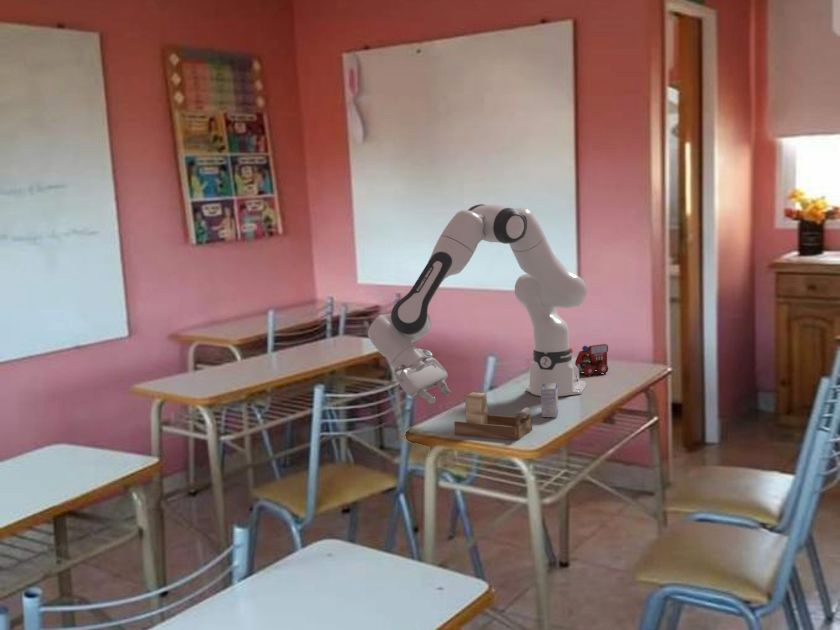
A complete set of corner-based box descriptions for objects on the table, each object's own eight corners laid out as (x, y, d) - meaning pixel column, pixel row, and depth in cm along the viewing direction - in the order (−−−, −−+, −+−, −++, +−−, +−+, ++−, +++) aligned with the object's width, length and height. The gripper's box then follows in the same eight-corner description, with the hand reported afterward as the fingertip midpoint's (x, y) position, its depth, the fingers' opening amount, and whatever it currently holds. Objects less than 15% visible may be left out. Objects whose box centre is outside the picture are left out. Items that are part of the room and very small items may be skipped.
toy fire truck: (571, 374, 325) (570, 345, 324) (603, 370, 329) (602, 341, 327) (580, 377, 319) (579, 348, 317) (612, 373, 322) (611, 344, 321)
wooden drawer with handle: (470, 424, 263) (469, 401, 262) (534, 430, 254) (533, 405, 253) (454, 434, 254) (453, 409, 253) (520, 440, 245) (519, 414, 244)
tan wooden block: (473, 426, 260) (471, 392, 258) (487, 428, 258) (486, 393, 256) (466, 430, 256) (465, 395, 255) (481, 432, 254) (479, 396, 252)
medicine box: (557, 418, 266) (556, 388, 265) (541, 418, 267) (540, 388, 266) (558, 411, 274) (557, 382, 273) (543, 411, 275) (542, 383, 274)
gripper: (398, 362, 253) (431, 399, 250) (432, 349, 271) (463, 383, 268) (385, 377, 256) (417, 414, 253) (419, 363, 274) (450, 397, 271)
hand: (441, 398), depth 260 cm, fingers open, 8 cm apart
